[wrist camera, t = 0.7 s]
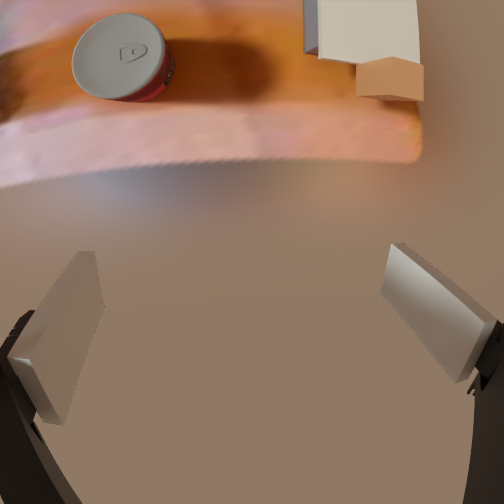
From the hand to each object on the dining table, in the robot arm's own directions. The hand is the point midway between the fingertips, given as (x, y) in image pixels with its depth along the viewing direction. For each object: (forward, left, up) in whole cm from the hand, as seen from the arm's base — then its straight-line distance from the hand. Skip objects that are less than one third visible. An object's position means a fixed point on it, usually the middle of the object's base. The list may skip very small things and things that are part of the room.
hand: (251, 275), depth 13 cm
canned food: (-12, -9, -25) cm, 29 cm away
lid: (-20, +15, -20) cm, 32 cm away
